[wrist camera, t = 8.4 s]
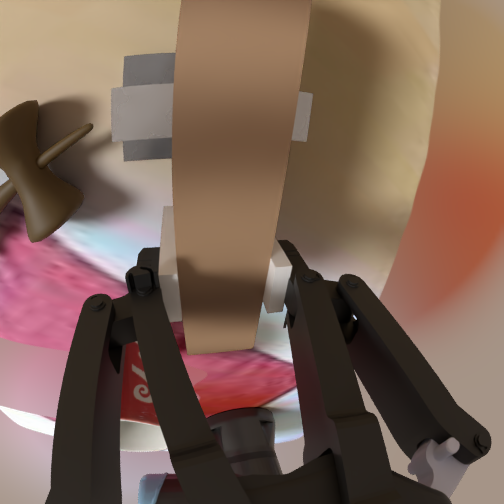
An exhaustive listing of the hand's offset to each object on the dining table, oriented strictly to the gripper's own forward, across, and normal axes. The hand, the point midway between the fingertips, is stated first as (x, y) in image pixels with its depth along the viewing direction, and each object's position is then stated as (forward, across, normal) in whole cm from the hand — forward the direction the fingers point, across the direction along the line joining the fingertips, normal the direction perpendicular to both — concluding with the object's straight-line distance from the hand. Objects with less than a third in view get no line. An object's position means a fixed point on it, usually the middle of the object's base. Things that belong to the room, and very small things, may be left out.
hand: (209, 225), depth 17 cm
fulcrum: (+6, 0, +7) cm, 9 cm away
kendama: (+6, -17, +2) cm, 18 cm away
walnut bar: (0, 0, +7) cm, 7 cm away
